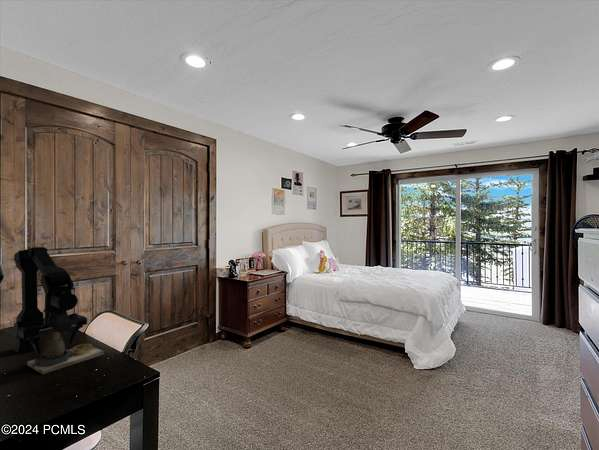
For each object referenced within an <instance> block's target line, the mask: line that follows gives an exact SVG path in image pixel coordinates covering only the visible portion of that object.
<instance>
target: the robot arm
mask: <svg viewBox="0 0 599 450" xmlns="http://www.w3.org/2000/svg"><path fill="white" fill-rule="evenodd" d="M13 261H14V263H15V267H16V268H17V269H18V270H19V272H21V310H20V312H19V313H18V314H17V316H16V319H15V320H16V321H15V322H14V325H13V326H12V329H11V336H12V337H13V338H15V339H17V348H14V349H13V351H15V352H16V353H18V354H24V353H28V352H31V351H35V354H36V355H38V356H39V355H40V354H41V353H40V352H41V350H40V349H41V346H40V339H41V336H40V335H39V334H40V333H43V332H46V331H49V330H53V332H58V333H60V332H62V331H65V330H67V335H66V336H67V339H66V340H67V346H68V347H71V346H72V343H73V341H74V338H75V336H76V334H77V333H78V331H79V330H80V329H81V328H83V327H84V326H85V325H88V318H87V316H84V315H79V314H78V313H70V314H68V311H70V310H72V309H75V307H76V306H77V304H78V303H79V299H78V297H77V295H75V294H73V293H72V290H74V286H75V284H74V282H73V280H72V278H71V276H70V274H69V273H68V271H67V270H66V269H65V268H64V267H61V266H57V264H56V263H55V261H54V260H53V259H52V256H51V255H50V254H49V253H48V249H47V247H44V246H35V247H34V246H33V247H28V248H26V249H21V250H18V251H17V252H15V253H14V255H13ZM38 271H39V272H40V274H41V277H40V285H41V287H42V289H43V292H44V309H43V311H41V309H39V307H38V304H39V303H38Z"/></svg>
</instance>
